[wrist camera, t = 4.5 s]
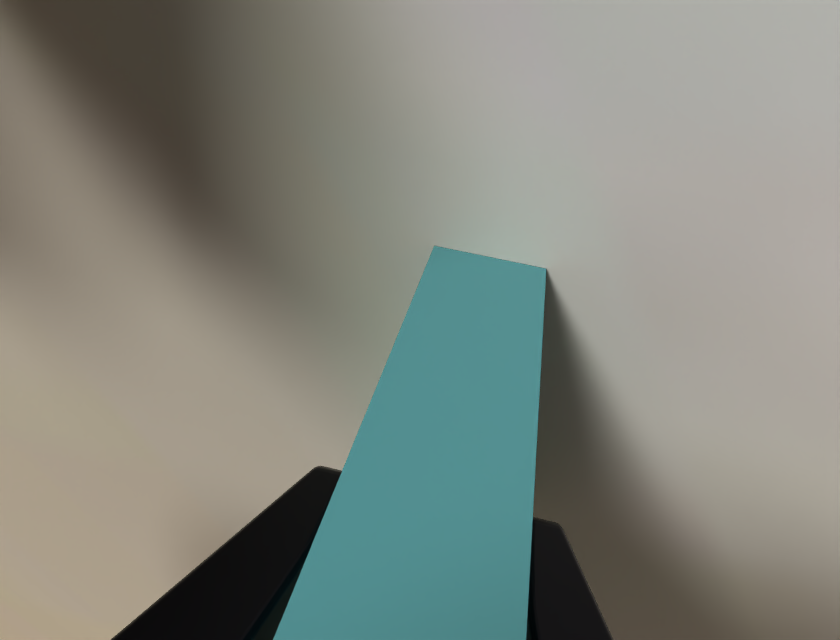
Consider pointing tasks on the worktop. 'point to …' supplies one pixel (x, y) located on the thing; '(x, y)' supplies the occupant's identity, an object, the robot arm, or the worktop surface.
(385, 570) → the teal domino
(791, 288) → the worktop surface
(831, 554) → the worktop surface
